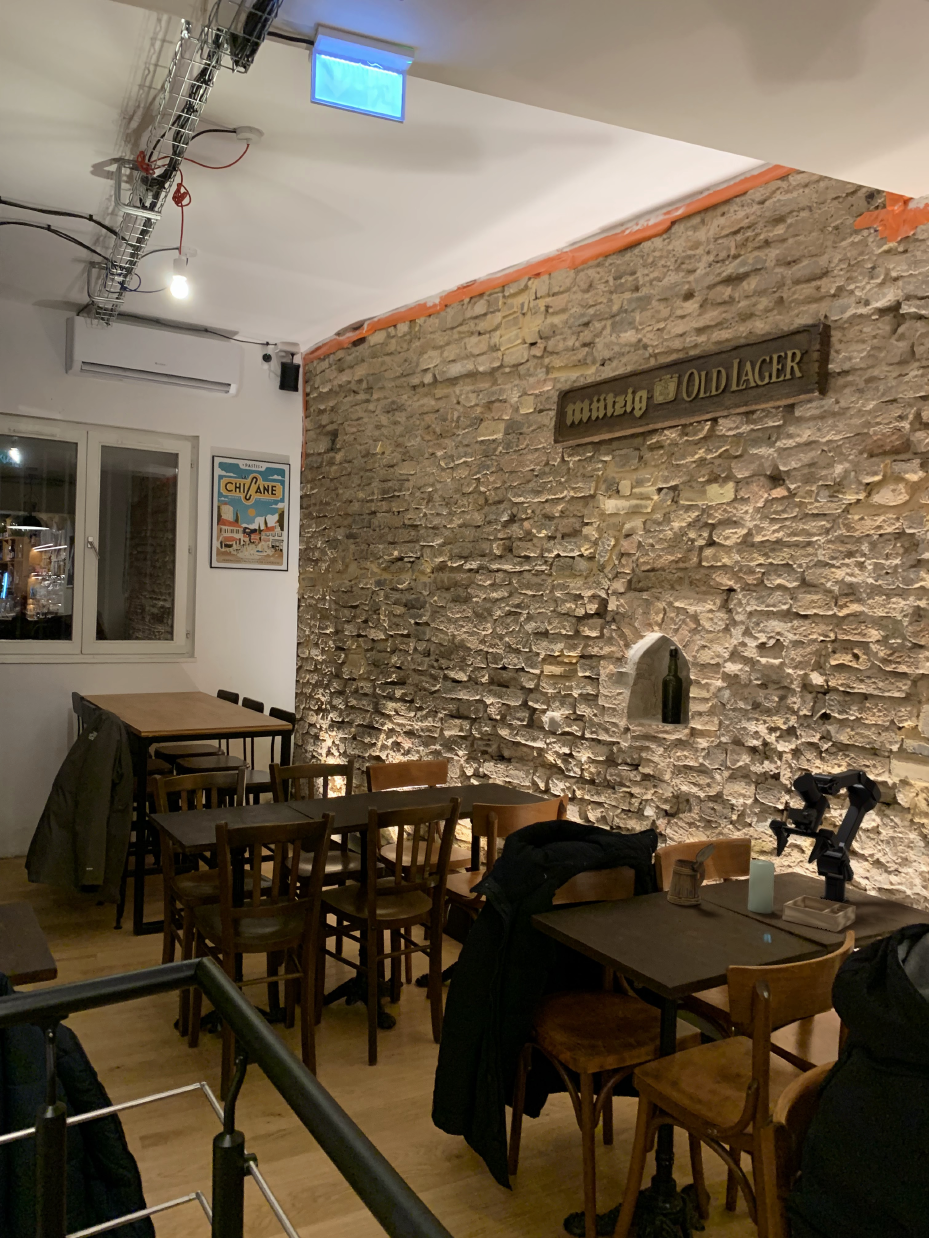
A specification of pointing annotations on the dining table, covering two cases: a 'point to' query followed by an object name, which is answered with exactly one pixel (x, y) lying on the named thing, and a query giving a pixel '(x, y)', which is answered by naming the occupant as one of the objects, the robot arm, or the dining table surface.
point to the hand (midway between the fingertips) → (793, 859)
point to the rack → (819, 913)
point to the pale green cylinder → (761, 886)
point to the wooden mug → (688, 878)
